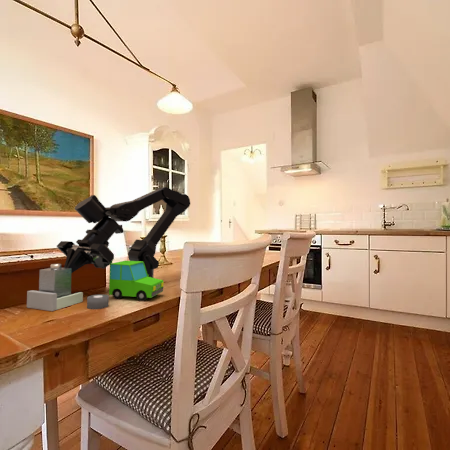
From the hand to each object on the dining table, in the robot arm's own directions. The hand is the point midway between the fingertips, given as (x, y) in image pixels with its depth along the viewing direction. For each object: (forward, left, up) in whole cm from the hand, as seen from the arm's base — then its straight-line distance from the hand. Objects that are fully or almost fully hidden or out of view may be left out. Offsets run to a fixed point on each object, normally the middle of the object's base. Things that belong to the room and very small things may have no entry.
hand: (64, 275), depth 74 cm
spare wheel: (0, +11, -7) cm, 13 cm away
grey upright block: (+3, 0, -7) cm, 8 cm away
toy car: (-12, +15, -7) cm, 20 cm away
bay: (+2, 0, -7) cm, 7 cm away
